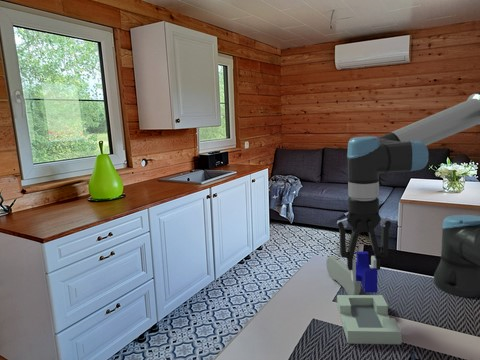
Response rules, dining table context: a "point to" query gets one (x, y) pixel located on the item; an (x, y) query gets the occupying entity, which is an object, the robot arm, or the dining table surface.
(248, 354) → the dining table surface
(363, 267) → the cable clip
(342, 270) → the slide sandal
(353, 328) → the holder
